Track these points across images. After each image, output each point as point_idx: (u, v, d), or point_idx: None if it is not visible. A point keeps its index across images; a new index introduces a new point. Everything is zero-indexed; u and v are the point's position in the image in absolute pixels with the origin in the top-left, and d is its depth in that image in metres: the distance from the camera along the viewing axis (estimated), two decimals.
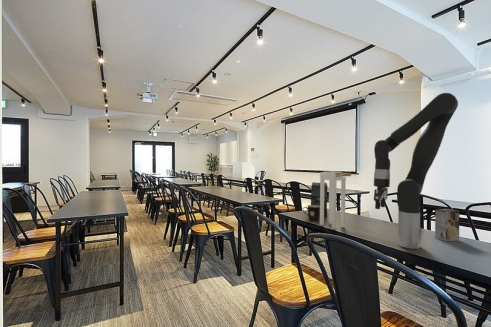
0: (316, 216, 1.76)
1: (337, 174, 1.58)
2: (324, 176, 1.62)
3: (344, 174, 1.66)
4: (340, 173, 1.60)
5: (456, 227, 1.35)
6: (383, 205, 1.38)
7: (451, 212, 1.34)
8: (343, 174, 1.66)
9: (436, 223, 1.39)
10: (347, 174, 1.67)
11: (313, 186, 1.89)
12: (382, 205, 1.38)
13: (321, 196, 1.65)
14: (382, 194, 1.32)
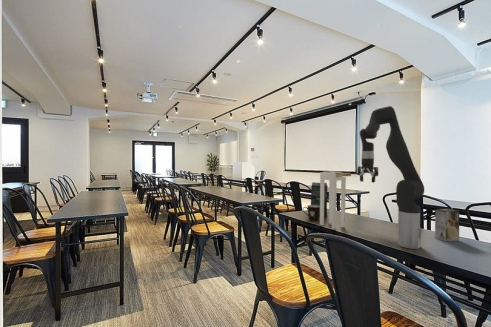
0: (316, 216, 1.76)
1: (337, 174, 1.58)
2: (324, 176, 1.62)
3: (344, 174, 1.66)
4: (340, 173, 1.60)
5: (456, 227, 1.35)
6: (362, 180, 1.75)
7: (451, 212, 1.35)
8: (343, 174, 1.66)
9: (436, 223, 1.39)
10: (347, 174, 1.67)
11: (313, 186, 1.89)
12: (362, 180, 1.75)
13: (321, 196, 1.65)
14: None
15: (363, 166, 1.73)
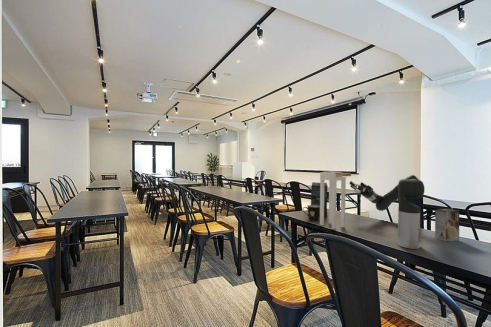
0: (316, 216, 1.76)
1: (337, 174, 1.58)
2: (324, 176, 1.62)
3: (344, 174, 1.66)
4: (340, 173, 1.60)
5: (456, 227, 1.35)
6: (351, 183, 1.77)
7: (451, 212, 1.34)
8: (343, 174, 1.66)
9: (436, 223, 1.39)
10: (347, 174, 1.67)
11: (313, 186, 1.89)
12: (351, 182, 1.77)
13: (321, 196, 1.65)
14: (364, 190, 1.73)
15: None
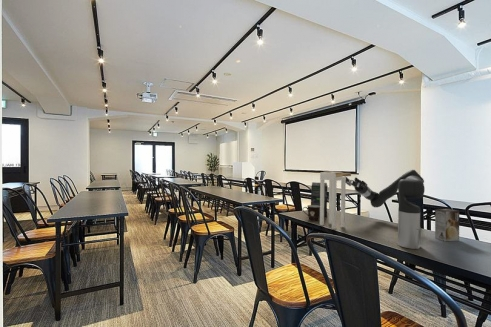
0: (316, 216, 1.76)
1: (337, 174, 1.58)
2: (324, 176, 1.62)
3: (344, 174, 1.66)
4: (340, 173, 1.60)
5: (456, 227, 1.35)
6: None
7: (451, 212, 1.34)
8: (343, 174, 1.66)
9: (436, 223, 1.39)
10: (347, 174, 1.67)
11: (313, 186, 1.89)
12: None
13: (321, 196, 1.65)
14: (359, 186, 1.71)
15: None
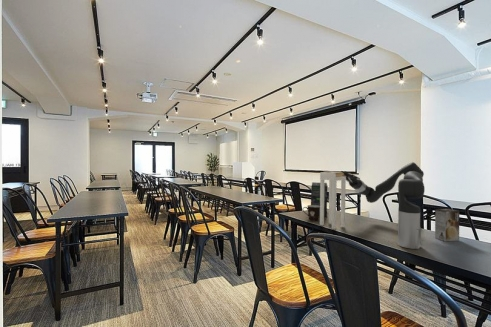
0: (316, 216, 1.76)
1: (337, 174, 1.58)
2: (324, 176, 1.62)
3: None
4: (340, 173, 1.60)
5: (456, 227, 1.35)
6: None
7: (451, 212, 1.35)
8: (343, 174, 1.66)
9: (436, 223, 1.39)
10: None
11: (313, 186, 1.89)
12: (342, 172, 1.68)
13: (321, 196, 1.65)
14: (351, 180, 1.68)
15: None
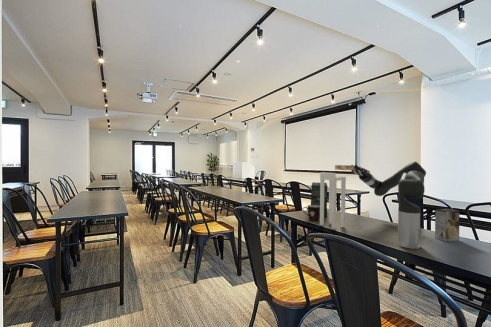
0: (316, 216, 1.76)
1: (348, 167, 1.64)
2: (324, 176, 1.62)
3: None
4: (351, 166, 1.65)
5: (456, 227, 1.35)
6: None
7: (451, 212, 1.35)
8: None
9: (436, 223, 1.39)
10: None
11: (313, 186, 1.89)
12: None
13: (321, 196, 1.65)
14: (361, 173, 1.74)
15: None
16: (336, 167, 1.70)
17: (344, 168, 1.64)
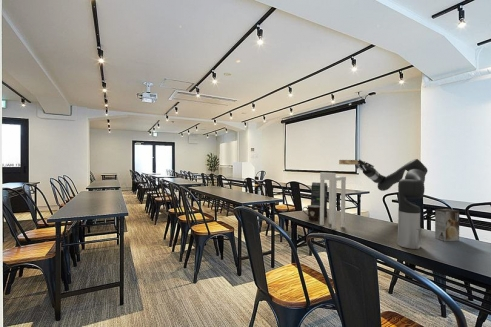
0: (316, 216, 1.76)
1: (353, 162, 1.65)
2: (324, 176, 1.62)
3: None
4: (355, 161, 1.66)
5: (456, 227, 1.35)
6: None
7: (451, 212, 1.35)
8: (358, 162, 1.72)
9: (436, 223, 1.39)
10: None
11: (313, 186, 1.89)
12: None
13: (321, 196, 1.65)
14: (365, 168, 1.75)
15: None
16: (340, 162, 1.70)
17: (348, 163, 1.65)
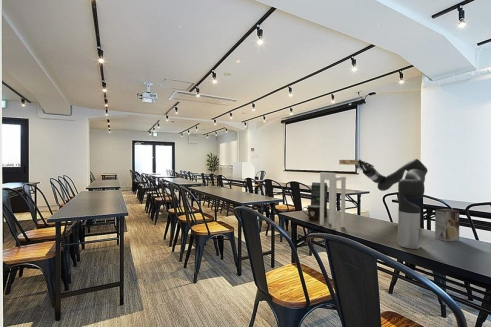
0: (316, 216, 1.76)
1: (353, 162, 1.65)
2: (324, 176, 1.62)
3: None
4: (355, 161, 1.66)
5: (456, 227, 1.35)
6: None
7: (451, 212, 1.35)
8: (358, 162, 1.72)
9: (436, 223, 1.39)
10: None
11: (313, 186, 1.89)
12: None
13: (321, 196, 1.65)
14: (365, 168, 1.75)
15: None
16: (340, 162, 1.70)
17: (348, 163, 1.65)
